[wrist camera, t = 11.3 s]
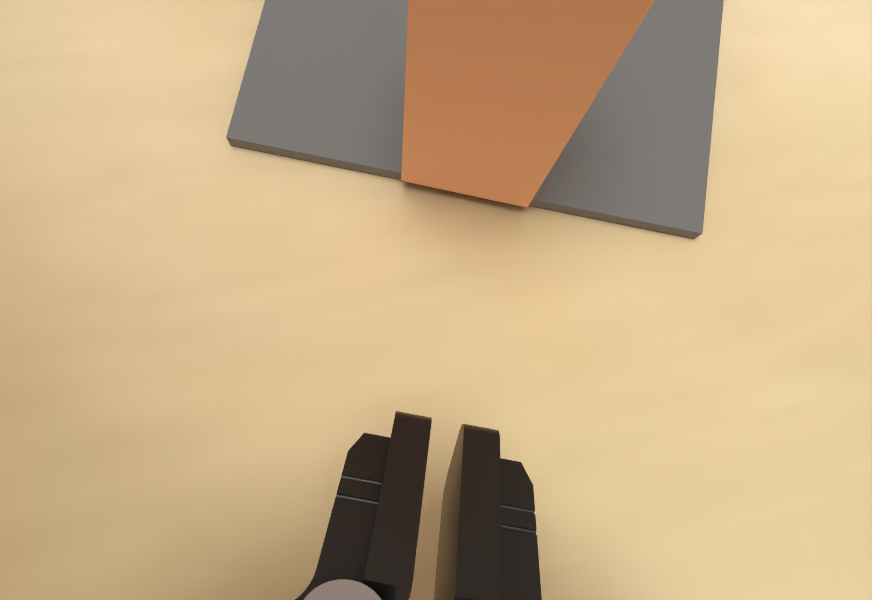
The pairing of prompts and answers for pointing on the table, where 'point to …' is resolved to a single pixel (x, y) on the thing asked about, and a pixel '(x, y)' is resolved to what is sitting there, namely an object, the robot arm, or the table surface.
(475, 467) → the robot arm
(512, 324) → the table surface
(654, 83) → the charcoal mat
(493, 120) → the terracotta block
